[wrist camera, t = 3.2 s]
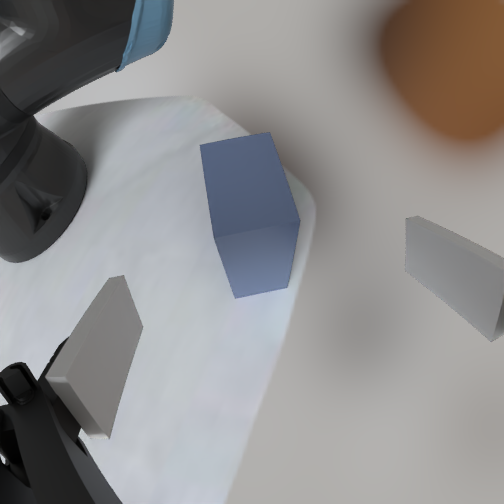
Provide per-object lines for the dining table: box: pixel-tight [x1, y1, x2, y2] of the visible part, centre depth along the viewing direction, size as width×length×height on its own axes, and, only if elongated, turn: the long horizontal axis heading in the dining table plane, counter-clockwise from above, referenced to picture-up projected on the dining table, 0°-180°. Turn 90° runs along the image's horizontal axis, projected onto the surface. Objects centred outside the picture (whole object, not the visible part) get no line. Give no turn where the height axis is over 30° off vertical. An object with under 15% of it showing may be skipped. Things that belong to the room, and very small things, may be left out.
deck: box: [200, 132, 300, 299], centre depth 20 cm, size 6×4×10 cm
